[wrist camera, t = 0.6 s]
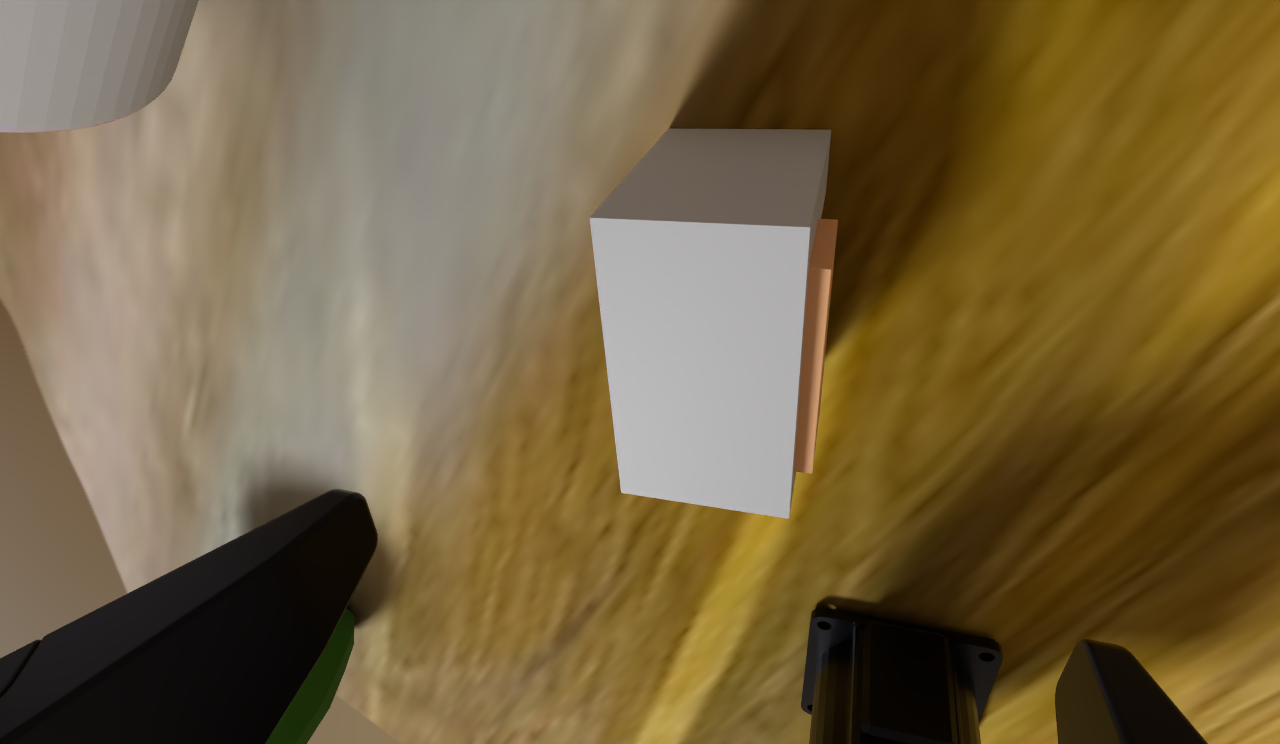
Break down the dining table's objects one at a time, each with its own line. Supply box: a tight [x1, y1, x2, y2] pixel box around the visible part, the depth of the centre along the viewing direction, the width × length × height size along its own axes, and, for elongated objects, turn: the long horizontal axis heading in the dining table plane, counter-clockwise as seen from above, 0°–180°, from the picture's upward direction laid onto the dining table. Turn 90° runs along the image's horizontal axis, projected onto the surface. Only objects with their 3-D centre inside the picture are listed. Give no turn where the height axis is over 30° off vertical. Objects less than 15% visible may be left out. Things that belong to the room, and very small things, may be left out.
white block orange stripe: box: [590, 129, 838, 519], centre depth 17 cm, size 7×4×6 cm, turn 5°
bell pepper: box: [266, 608, 354, 744], centre depth 33 cm, size 8×8×10 cm
